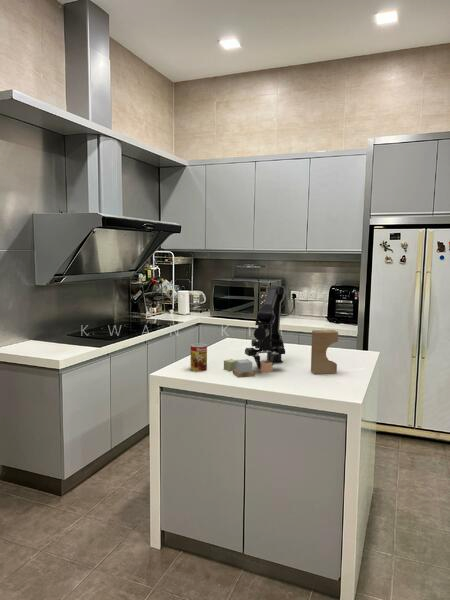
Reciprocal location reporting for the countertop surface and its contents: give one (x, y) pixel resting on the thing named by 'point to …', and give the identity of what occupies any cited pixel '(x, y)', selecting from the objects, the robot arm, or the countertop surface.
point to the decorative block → (322, 351)
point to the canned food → (198, 357)
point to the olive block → (229, 365)
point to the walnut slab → (243, 374)
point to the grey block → (243, 366)
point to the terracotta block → (265, 366)
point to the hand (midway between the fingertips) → (264, 368)
